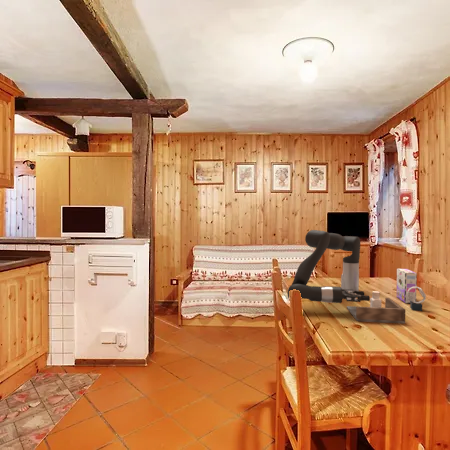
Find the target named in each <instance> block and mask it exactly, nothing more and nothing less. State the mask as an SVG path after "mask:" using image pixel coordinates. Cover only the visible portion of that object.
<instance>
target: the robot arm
mask: <svg viewBox="0 0 450 450" xmlns="http://www.w3.org/2000/svg"><path fill="white" fill-rule="evenodd" d="M304 238H305V239H304V240H305V244H306V245H307V246H308V247H310V248H312V249H313V248H314V251H313V252H312V253H311V254H310V255H309V256H308V257H306V258H305V259H304V260H302V262H301V263H300V264H299V266H298V268H297V270H296V272H295V274H294V277H293V281H292V282H291V285H290V286H289V287H288V289H287V297H288V299H289V291H290V290H293V289H296V290H299V291H300V293H301V297H302V298H301V300H302V299H306V300H309V301H310V302H321V303H322V302H323V303H333V304H338V303H339V304H341V303H342V302H343V300H345V301H346V302H351V303H352V302H353V303H361V301H365V302H368V301H370V298H371V297H370V295H365V291H363V290H359V289H360V288H359V286H360V258H361V255H360V253H361V239H360V237H359V236H353V235H352V236H351V235H350V236H348V235H345V236H342V235H341V234H339V233H333V232H328V231H325V230H319V229H318V230H317V229H311V230H308V231H307V233H306V235H305V236H304ZM327 249H328V250H331V251H332V250H334V251H338V250H339V251H340V250H341V251H344V252H351V254H350V255H349V256H344V257H343V258H342V274H341V277H340V279H341V280H340V283H341V284H340V285H341V286H332V285H331V286H329V285H327V286H326V285H324V286H323V285H322V286H318V285H317V286H315V285H313V286H312V285H308V283H309V281H310V278H311V276H312V274H313V271H314V269H315V268H316V266H317V264H318V263H319V262H320V259H322V256H324V253H325V252H326V250H327Z"/></svg>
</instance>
